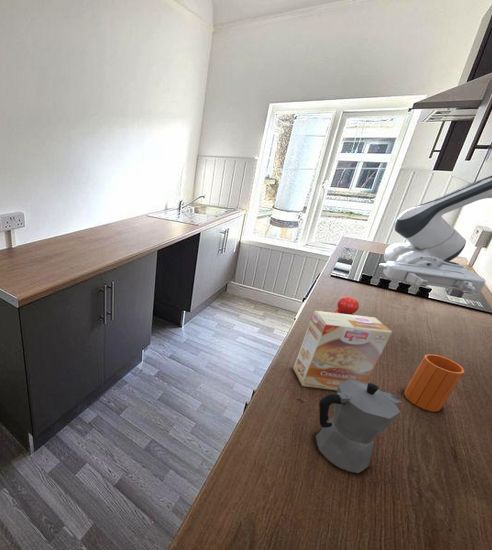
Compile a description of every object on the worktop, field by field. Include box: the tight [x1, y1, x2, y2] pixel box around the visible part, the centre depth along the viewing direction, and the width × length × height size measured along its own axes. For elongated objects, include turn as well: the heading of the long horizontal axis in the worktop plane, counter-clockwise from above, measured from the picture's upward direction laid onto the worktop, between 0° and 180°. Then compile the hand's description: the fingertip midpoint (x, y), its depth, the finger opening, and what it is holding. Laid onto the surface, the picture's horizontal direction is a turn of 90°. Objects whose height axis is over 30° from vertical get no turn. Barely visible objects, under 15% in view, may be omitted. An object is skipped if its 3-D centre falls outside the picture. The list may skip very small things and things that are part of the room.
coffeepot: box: [315, 379, 402, 474], centre depth 58 cm, size 15×9×18 cm, turn 93°
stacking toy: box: [333, 296, 360, 315], centre depth 90 cm, size 8×8×19 cm
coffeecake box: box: [292, 310, 393, 391], centre depth 76 cm, size 15×7×20 cm, turn 82°
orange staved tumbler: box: [403, 353, 465, 413], centre depth 73 cm, size 7×7×12 cm
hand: (446, 287), depth 75 cm, fingers open, 8 cm apart
